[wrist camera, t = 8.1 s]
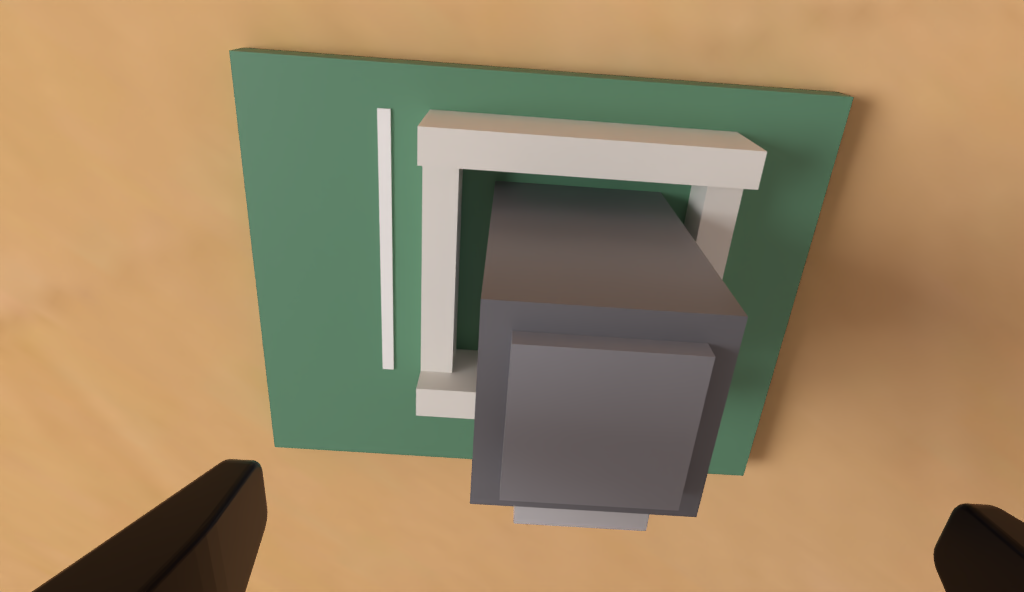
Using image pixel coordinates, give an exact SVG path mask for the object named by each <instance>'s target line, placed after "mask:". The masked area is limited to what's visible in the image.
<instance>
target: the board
mask: <svg viewBox="0 0 1024 592" xmlns="http://www.w3.org/2000/svg"><path fill="white" fill-rule="evenodd" d="M229 53H230V61H231V70H232V79H233V87H234V96H235V105H236V114H237V122H238V131H239V140H240V148H241V157H242V166H243V174H244V183H245V192H246V201H247V209H248V218H249V227H250V235H251V244H252V253H253V262H254V270H255V279H256V288H257V296H258V305H259V314H260V322H261V331H262V340H263V349H264V357H265V366H266V375H267V383H268V392H269V401H270V409H271V418H272V427H273V436H274V444H275V447H284V448H301V449H317V450H333V451H350V452H366V453H382V454H399V455H415V456H431V457H447V458H464V459H472V456H473V437H474V418H475V399H476V380H477V361H478V342H479V323H480V304H481V293H482V285H483V277H484V269H485V261H486V252H487V244H488V236H489V228H490V220H491V212H492V204H493V195H494V187H495V181H507V182H522V183H536V184H550V185H565V186H579V187H593V188H608V189H622V190H636V191H651V192H661V193H662V195H663V196H664V198H665V199H666V201H667V202H668V203H669V205H670V206H671V208H672V209H673V210H674V212H675V213H676V215H677V216H678V218H679V219H680V220H681V222H682V223H683V225H684V226H685V228H686V229H687V230H688V232H689V233H690V235H691V236H692V237H693V239H694V240H695V242H696V243H697V245H698V246H699V247H700V249H701V250H702V252H703V253H704V255H705V256H706V257H707V259H708V260H709V262H710V263H711V265H712V266H713V267H714V269H715V270H716V272H717V273H718V274H719V276H720V277H721V279H722V280H723V282H724V283H725V284H726V286H727V287H728V289H729V290H730V292H731V293H732V294H733V296H734V297H735V299H736V300H737V302H738V303H739V304H740V306H741V307H742V309H743V310H744V311H745V313H746V314H747V316H748V319H747V323H746V327H745V330H744V334H743V338H742V342H741V346H740V350H739V354H738V357H737V361H736V365H735V369H734V373H733V377H732V381H731V385H730V388H729V392H728V396H727V400H726V404H725V408H724V412H723V416H722V419H721V423H720V427H719V431H718V435H717V439H716V443H715V446H714V450H713V454H712V458H711V462H710V466H709V470H708V474H724V475H741V476H743V475H744V471H745V468H746V464H747V461H748V458H749V454H750V451H751V447H752V444H753V440H754V437H755V434H756V430H757V427H758V423H759V420H760V416H761V413H762V410H763V406H764V403H765V399H766V396H767V392H768V389H769V386H770V382H771V379H772V375H773V372H774V368H775V365H776V362H777V358H778V355H779V351H780V348H781V344H782V341H783V338H784V334H785V331H786V327H787V324H788V320H789V317H790V314H791V310H792V307H793V303H794V300H795V296H796V293H797V290H798V286H799V283H800V279H801V276H802V272H803V269H804V266H805V262H806V259H807V255H808V252H809V248H810V245H811V242H812V238H813V235H814V231H815V228H816V224H817V221H818V218H819V214H820V211H821V207H822V204H823V200H824V197H825V194H826V190H827V187H828V183H829V180H830V176H831V173H832V170H833V166H834V163H835V159H836V156H837V152H838V149H839V146H840V142H841V139H842V135H843V132H844V129H845V125H846V122H847V118H848V115H849V111H850V108H851V105H852V101H853V98H854V97H851V96H848V95H845V94H842V93H839V92H830V91H816V90H803V89H790V88H776V87H763V86H749V85H736V84H723V83H709V82H696V81H683V80H669V79H656V78H642V77H629V76H616V75H602V74H589V73H576V72H562V71H549V70H535V69H522V68H509V67H495V66H482V65H469V64H455V63H442V62H428V61H415V60H402V59H388V58H375V57H362V56H348V55H335V54H321V53H308V52H295V51H281V50H268V49H255V48H239V49H235V50H230V51H229Z"/></svg>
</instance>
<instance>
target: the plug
mask: <svg viewBox="0 0 1024 592" xmlns="http://www.w3.org/2000/svg"><path fill="white" fill-rule="evenodd" d="M747 319H748V316H747V314H746V313H745V311H744V310H743V309H742V307H741V306H740V304H739V303H738V302H737V300H736V299H735V297H734V296H733V294H732V293H731V292H730V290H729V289H728V287H727V286H726V284H725V283H724V282H723V280H722V279H721V277H720V276H719V274H718V273H717V272H716V270H715V269H714V267H713V266H712V265H711V263H710V262H709V260H708V259H707V257H706V256H705V255H704V253H703V252H702V250H701V249H700V247H699V246H698V245H697V243H696V242H695V240H694V239H693V237H692V236H691V235H690V233H689V232H688V230H687V229H686V228H685V226H684V225H683V223H682V222H681V220H680V219H679V218H678V216H677V215H676V213H675V212H674V210H673V209H672V208H671V206H670V205H669V203H668V202H667V201H666V199H665V198H664V196H663V195H662V193H661V192H651V191H636V190H622V189H608V188H593V187H579V186H565V185H550V184H536V183H522V182H507V181H495V187H494V195H493V204H492V212H491V220H490V228H489V236H488V244H487V252H486V261H485V269H484V277H483V285H482V293H481V304H480V323H479V342H478V361H477V380H476V399H475V418H474V437H473V456H472V475H471V494H470V504H484V505H501V506H514V523H517V524H535V525H552V526H569V527H586V528H603V529H620V530H637V531H646V527H647V523H648V518H649V514H654V515H671V516H688V517H696V516H697V512H698V508H699V504H700V501H701V497H702V493H703V489H704V485H705V481H706V477H707V474H708V470H709V466H710V462H711V458H712V454H713V450H714V446H715V443H716V439H717V435H718V431H719V427H720V423H721V419H722V416H723V412H724V408H725V404H726V400H727V396H728V392H729V388H730V385H731V381H732V377H733V373H734V369H735V365H736V361H737V357H738V354H739V350H740V346H741V342H742V338H743V334H744V330H745V327H746V323H747Z"/></svg>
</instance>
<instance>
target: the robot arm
mask: <svg viewBox="0 0 1024 592" xmlns="http://www.w3.org/2000/svg"><path fill="white" fill-rule="evenodd" d="M266 521H267V503H266V495H265V487H264V480H263V472H262V468H261V466H260V464H259V463H258V462H256V461H254V460H237V459H228V460H225V461H223V462H221V463H219V464H218V465H216V466H215V467H213V468H212V469H210V470H209V471H207V472H206V473H205V474H203V475H202V476H200V477H199V478H197V479H196V480H194V481H193V482H191V483H190V484H188V485H187V486H186V487H184V488H183V489H181V490H180V491H178V492H177V493H175V494H174V495H172V496H171V497H169V498H168V499H167V500H165V501H164V502H162V503H161V504H159V505H158V506H156V507H155V508H153V509H152V510H150V511H149V512H148V513H146V514H145V515H143V516H142V517H140V518H139V519H137V520H136V521H134V522H133V523H131V524H130V525H129V526H127V527H126V528H124V529H123V530H121V531H120V532H118V533H117V534H115V535H114V536H113V537H111V538H110V539H108V540H107V541H105V542H104V543H102V544H101V545H99V546H98V547H96V548H95V549H94V550H92V551H91V552H89V553H88V554H86V555H85V556H83V557H82V558H80V559H79V560H77V561H76V562H75V563H73V564H72V565H70V566H69V567H67V568H66V569H64V570H63V571H61V572H60V573H58V574H57V575H56V576H54V577H53V578H51V579H50V580H48V581H47V582H45V583H44V584H42V585H41V586H39V587H38V588H37V589H35V590H34V591H32V592H245V591H246V588H247V585H248V581H249V578H250V575H251V572H252V569H253V565H254V562H255V559H256V556H257V553H258V549H259V546H260V543H261V540H262V537H263V533H264V530H265V526H266ZM934 563H935V567H936V570H937V572H938V575H939V577H940V579H941V582H942V584H943V586H944V589H945V591H946V592H1024V522H1022V521H1020V520H1019V519H1017V518H1015V517H1014V516H1012V515H1010V514H1009V513H1007V512H1005V511H1003V510H1002V509H1000V508H998V507H995V506H992V505H983V504H960V505H959V506H957V507H956V508H954V510H953V511H952V513H951V515H950V517H949V519H948V521H947V523H946V525H945V527H944V529H943V531H942V533H941V535H940V537H939V539H938V541H937V543H936V546H935V548H934Z"/></svg>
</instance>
